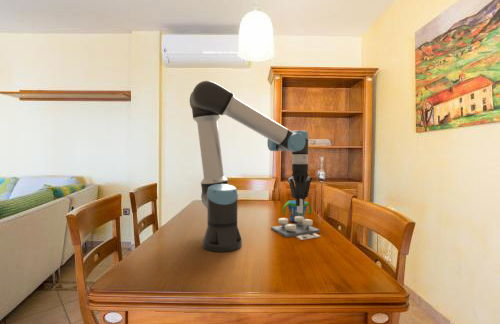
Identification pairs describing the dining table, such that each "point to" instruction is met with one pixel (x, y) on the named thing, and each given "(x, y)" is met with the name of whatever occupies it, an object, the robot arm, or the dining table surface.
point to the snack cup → (293, 209)
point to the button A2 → (283, 221)
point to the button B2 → (299, 219)
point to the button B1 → (307, 222)
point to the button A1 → (290, 227)
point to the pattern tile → (308, 236)
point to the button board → (299, 230)
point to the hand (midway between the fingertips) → (299, 212)
